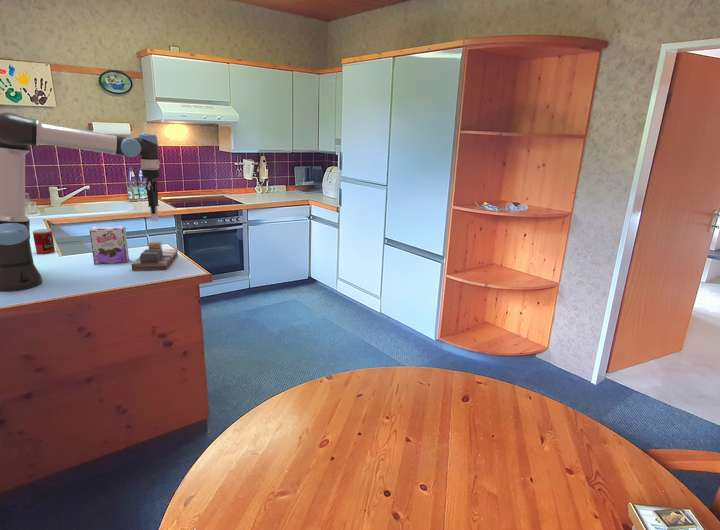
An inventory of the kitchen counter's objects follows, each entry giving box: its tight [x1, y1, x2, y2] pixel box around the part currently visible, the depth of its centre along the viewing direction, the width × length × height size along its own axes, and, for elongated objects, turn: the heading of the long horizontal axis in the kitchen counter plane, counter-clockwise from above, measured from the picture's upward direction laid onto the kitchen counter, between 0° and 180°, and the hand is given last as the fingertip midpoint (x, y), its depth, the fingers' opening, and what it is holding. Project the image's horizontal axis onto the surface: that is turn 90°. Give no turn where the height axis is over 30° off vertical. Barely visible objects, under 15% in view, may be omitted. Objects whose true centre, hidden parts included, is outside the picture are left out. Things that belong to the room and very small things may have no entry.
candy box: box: [89, 225, 130, 265], centre depth 209 cm, size 14×6×16 cm, turn 105°
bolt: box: [147, 241, 163, 250], centre depth 208 cm, size 10×5×6 cm, turn 11°
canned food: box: [32, 228, 56, 255], centre depth 223 cm, size 8×8×11 cm
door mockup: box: [131, 248, 179, 272], centre depth 211 cm, size 26×14×7 cm, turn 11°
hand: (154, 220), depth 213 cm, fingers closed
